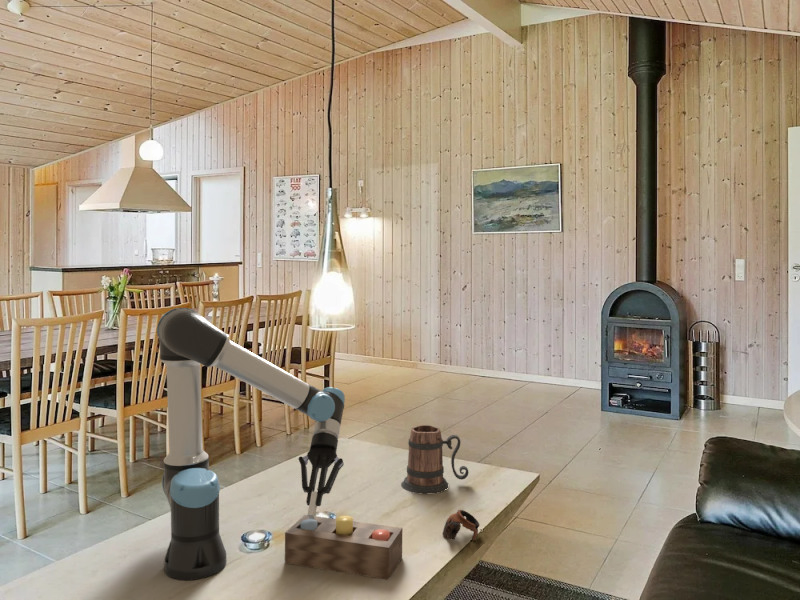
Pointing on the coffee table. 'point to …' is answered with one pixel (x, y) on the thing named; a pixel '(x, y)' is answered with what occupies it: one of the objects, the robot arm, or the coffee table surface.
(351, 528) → the mustard button
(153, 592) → the coffee table surface
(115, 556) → the coffee table surface
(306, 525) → the slate button
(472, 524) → the pottery mug
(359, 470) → the coffee table surface
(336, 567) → the console
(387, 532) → the red button
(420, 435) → the tankard
